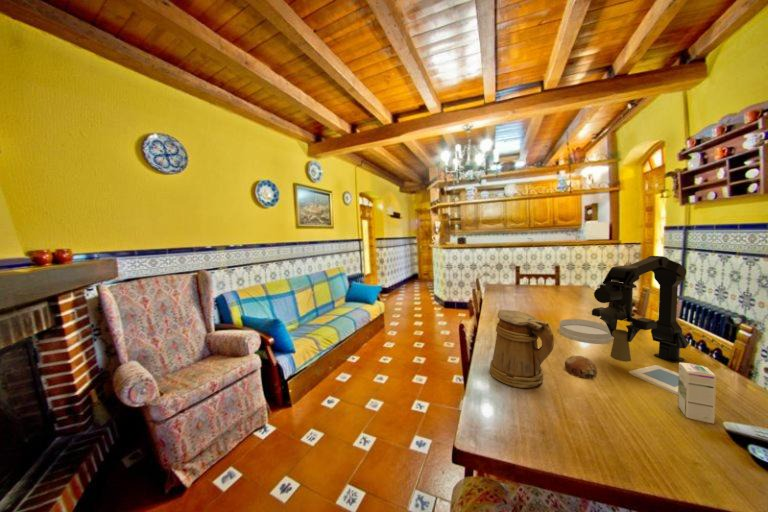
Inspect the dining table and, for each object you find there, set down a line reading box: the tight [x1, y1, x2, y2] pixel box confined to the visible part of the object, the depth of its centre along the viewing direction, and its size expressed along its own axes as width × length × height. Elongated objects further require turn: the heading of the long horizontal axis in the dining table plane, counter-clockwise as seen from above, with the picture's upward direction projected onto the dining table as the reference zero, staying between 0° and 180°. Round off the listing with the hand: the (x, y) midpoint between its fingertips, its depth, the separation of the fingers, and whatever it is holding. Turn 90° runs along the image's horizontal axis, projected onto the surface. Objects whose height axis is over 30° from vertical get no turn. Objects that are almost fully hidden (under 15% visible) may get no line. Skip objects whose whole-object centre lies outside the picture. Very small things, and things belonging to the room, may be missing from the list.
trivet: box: [628, 364, 679, 396], centre depth 93 cm, size 14×14×1 cm
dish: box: [558, 318, 614, 345], centre depth 134 cm, size 22×22×5 cm
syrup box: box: [677, 361, 717, 425], centre depth 75 cm, size 6×6×14 cm
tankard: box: [489, 309, 555, 389], centre depth 98 cm, size 18×24×25 cm
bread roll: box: [564, 355, 598, 379], centre depth 101 cm, size 10×10×8 cm
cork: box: [609, 328, 632, 363], centre depth 100 cm, size 6×6×11 cm
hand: (621, 339), depth 100 cm, fingers closed on cork, 5 cm apart
